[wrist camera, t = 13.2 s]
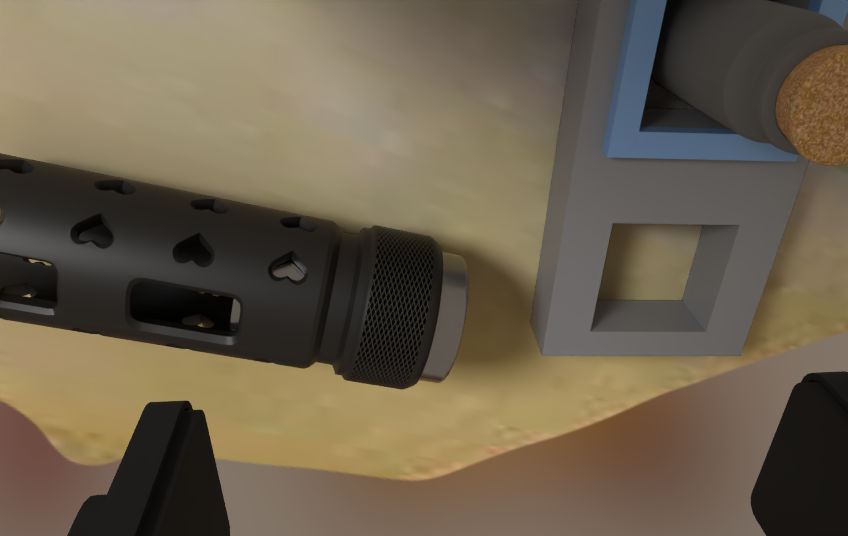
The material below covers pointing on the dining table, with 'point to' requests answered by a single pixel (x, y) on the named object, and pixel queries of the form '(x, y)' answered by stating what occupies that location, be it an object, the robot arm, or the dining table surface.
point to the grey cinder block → (654, 199)
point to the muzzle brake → (225, 276)
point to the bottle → (760, 72)
